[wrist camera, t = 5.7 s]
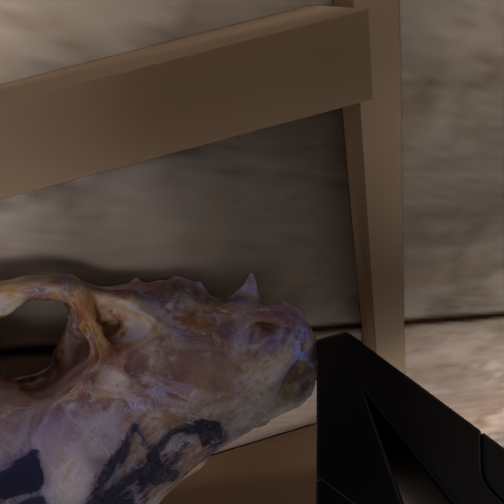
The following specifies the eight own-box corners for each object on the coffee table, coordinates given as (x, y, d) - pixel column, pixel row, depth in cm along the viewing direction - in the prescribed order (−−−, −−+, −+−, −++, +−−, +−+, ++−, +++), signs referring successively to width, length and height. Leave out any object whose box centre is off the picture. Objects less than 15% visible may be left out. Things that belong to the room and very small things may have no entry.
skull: (293, 201, 10) (437, 424, 5) (302, 411, 14) (385, 654, 9) (-280, 296, 9) (-929, 746, 3) (-85, 498, 13) (-252, 842, 8)
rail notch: (392, 422, 15) (429, 491, 13) (140, 499, 15) (137, 583, 13) (373, -11, 8) (452, -14, 6) (-125, 116, 7) (-237, 165, 5)
